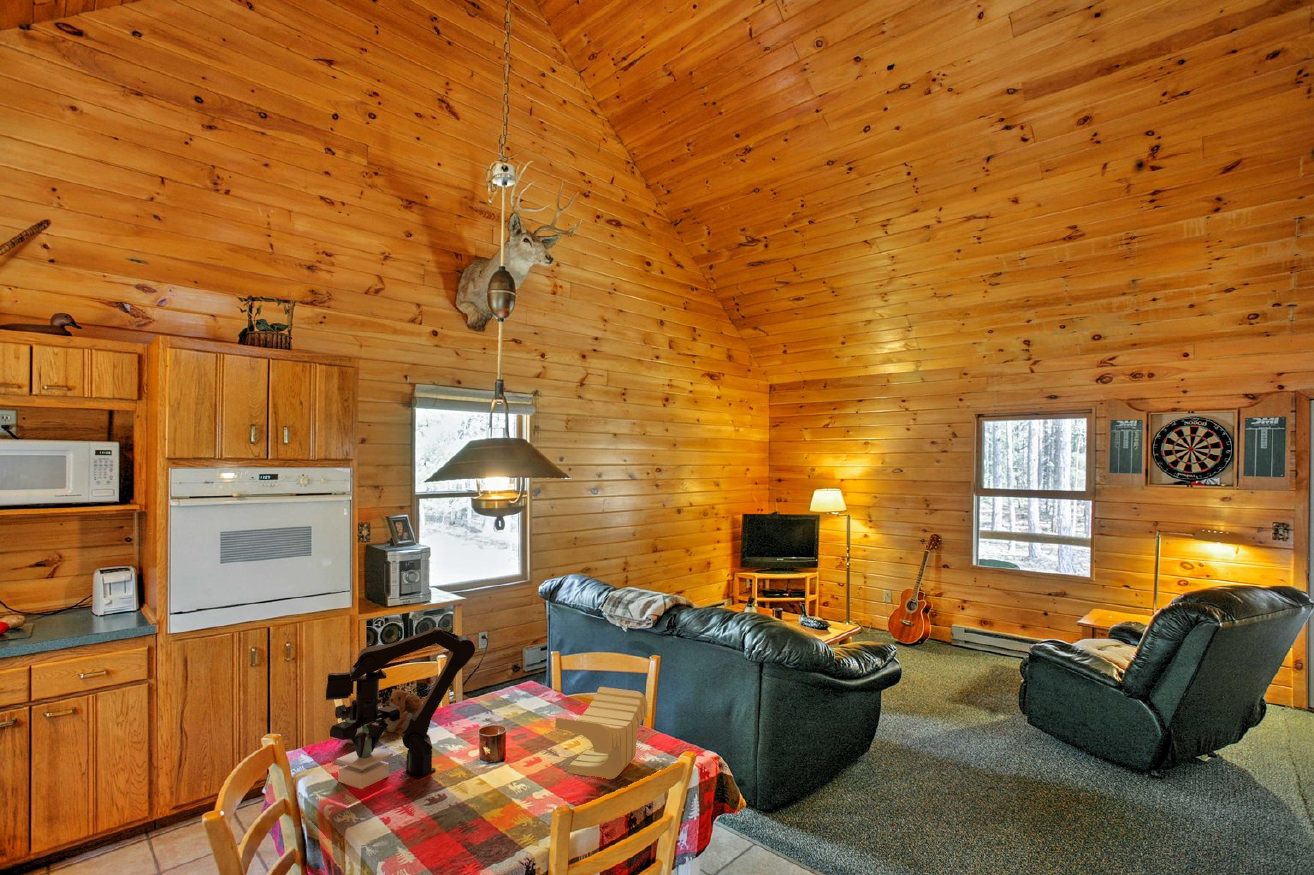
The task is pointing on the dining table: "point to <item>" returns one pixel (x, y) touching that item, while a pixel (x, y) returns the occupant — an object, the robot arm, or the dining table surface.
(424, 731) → the robot arm
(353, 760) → the lid
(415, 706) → the stuffed squirrel
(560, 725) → the slatted curved stool
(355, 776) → the dish
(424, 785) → the dining table surface
